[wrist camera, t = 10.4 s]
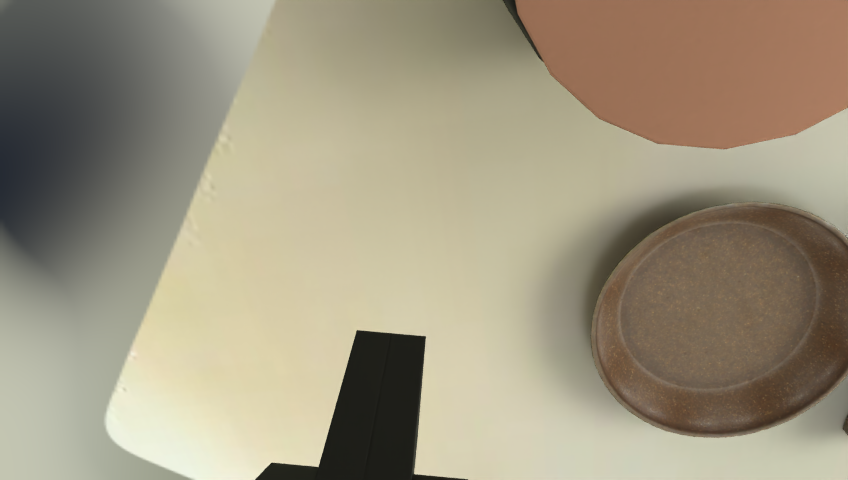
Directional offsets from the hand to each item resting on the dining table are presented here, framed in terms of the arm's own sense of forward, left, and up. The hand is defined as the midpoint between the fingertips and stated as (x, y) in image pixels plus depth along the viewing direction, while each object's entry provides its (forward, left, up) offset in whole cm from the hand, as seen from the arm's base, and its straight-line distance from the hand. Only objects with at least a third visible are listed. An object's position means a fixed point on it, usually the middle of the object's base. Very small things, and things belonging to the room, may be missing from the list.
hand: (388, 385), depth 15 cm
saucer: (-17, +9, -23) cm, 30 cm away
